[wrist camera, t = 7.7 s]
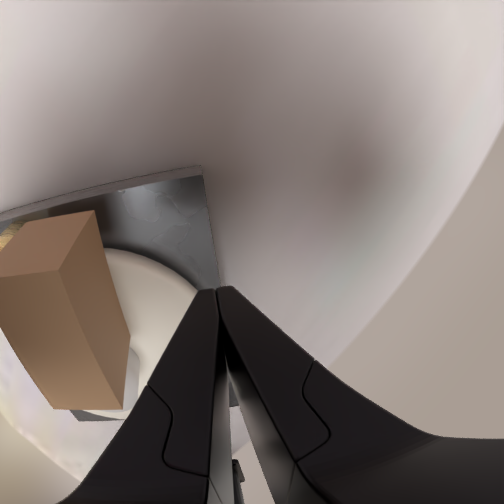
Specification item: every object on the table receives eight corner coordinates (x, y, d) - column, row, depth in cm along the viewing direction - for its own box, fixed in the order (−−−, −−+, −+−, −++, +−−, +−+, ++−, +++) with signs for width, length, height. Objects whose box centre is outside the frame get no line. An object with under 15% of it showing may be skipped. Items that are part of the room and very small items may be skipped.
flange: (202, 184, 12) (213, 251, 8) (227, 395, 19) (242, 469, 14) (-27, 224, 10) (-89, 288, 6) (65, 405, 17) (53, 472, 12)
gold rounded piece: (47, 256, 12) (18, 305, 9) (15, 264, 12) (-16, 310, 9) (32, 216, 11) (-4, 257, 8) (-1, 225, 11) (-39, 266, 8)
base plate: (240, 387, 21) (244, 404, 20) (81, 405, 20) (79, 421, 18) (200, 165, 13) (202, 174, 12) (-21, 220, 12) (-36, 233, 11)
